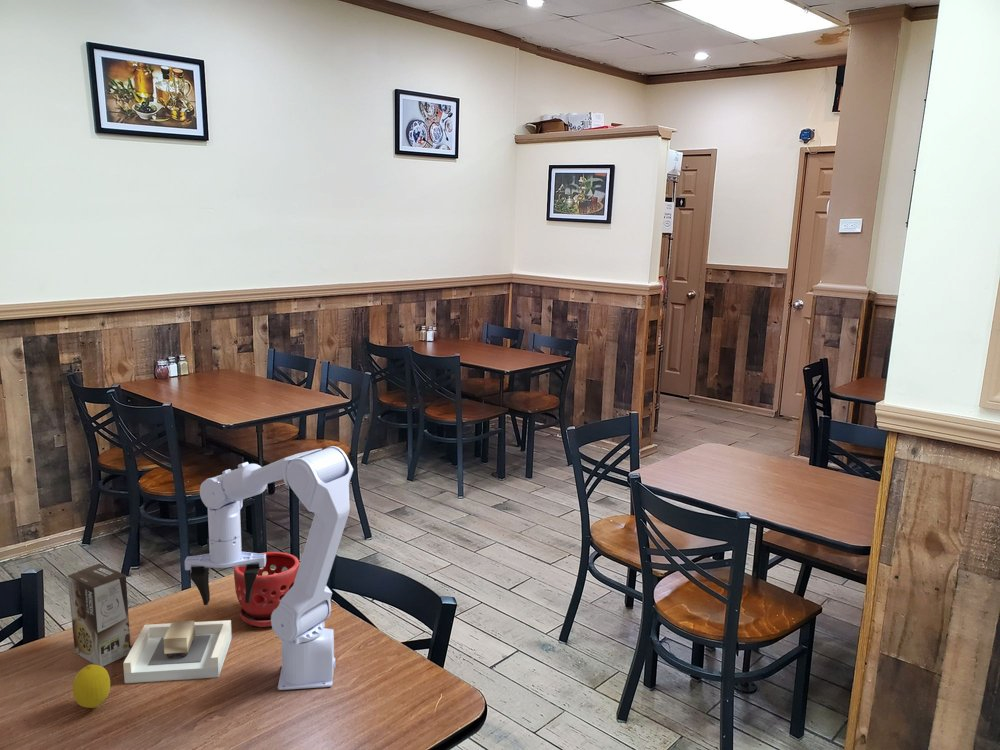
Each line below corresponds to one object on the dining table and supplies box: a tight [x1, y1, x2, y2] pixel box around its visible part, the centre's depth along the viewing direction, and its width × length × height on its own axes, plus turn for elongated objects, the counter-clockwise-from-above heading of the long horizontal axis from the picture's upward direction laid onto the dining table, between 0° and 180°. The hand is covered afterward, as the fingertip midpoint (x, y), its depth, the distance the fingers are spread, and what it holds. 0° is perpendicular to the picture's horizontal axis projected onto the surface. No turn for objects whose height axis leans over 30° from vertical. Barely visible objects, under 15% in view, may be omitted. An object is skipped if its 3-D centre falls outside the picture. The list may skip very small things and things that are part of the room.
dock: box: [122, 619, 233, 684], centre depth 140 cm, size 16×13×4 cm
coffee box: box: [67, 563, 132, 668], centre depth 140 cm, size 9×6×16 cm
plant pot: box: [233, 551, 300, 627], centre depth 156 cm, size 13×13×12 cm
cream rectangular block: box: [164, 620, 195, 658], centre depth 139 cm, size 4×6×4 cm, turn 9°
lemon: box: [72, 663, 111, 709], centre depth 125 cm, size 6×6×8 cm
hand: (227, 601), depth 144 cm, fingers open, 7 cm apart
